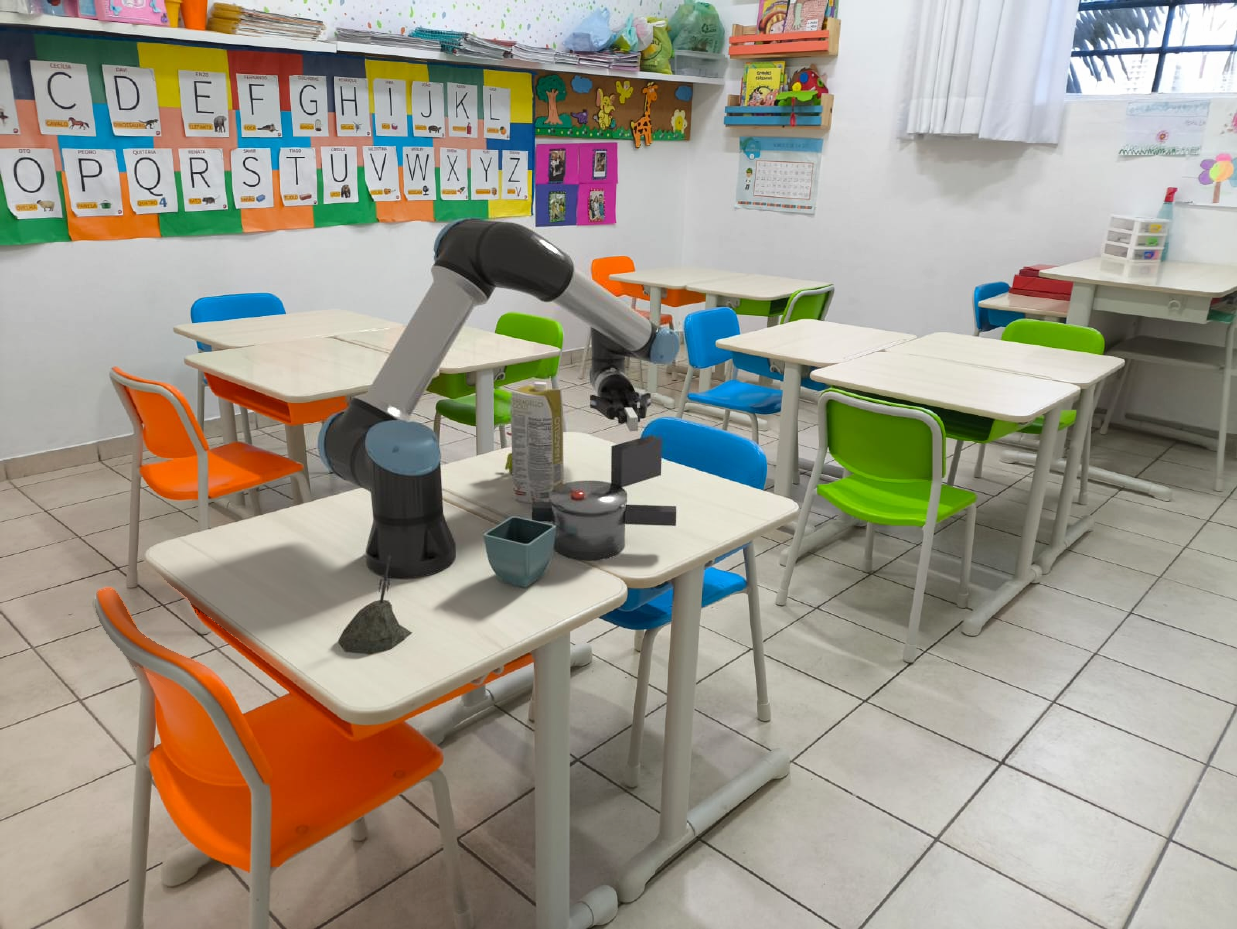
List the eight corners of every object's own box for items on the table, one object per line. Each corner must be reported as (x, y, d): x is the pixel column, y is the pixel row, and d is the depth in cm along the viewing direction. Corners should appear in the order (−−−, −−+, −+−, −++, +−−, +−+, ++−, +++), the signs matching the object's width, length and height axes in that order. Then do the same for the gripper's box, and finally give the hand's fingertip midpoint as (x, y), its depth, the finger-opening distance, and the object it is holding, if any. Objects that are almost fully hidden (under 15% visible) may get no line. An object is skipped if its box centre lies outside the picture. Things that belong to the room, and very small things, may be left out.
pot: (528, 558, 152) (526, 513, 149) (538, 528, 164) (537, 486, 161) (675, 564, 150) (676, 518, 147) (674, 532, 163) (676, 490, 160)
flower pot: (483, 584, 143) (481, 533, 140) (514, 563, 150) (512, 514, 147) (528, 596, 139) (527, 545, 136) (557, 574, 146) (557, 525, 143)
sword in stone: (360, 664, 121) (350, 585, 117) (330, 645, 126) (320, 569, 122) (421, 636, 128) (413, 561, 124) (390, 619, 133) (382, 547, 129)
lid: (583, 521, 145) (583, 475, 142) (534, 497, 155) (533, 454, 152) (681, 488, 160) (683, 445, 157) (631, 468, 169) (631, 428, 166)
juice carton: (568, 496, 179) (567, 382, 170) (547, 509, 172) (545, 391, 164) (530, 488, 183) (527, 376, 175) (508, 500, 176) (504, 385, 168)
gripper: (584, 374, 184) (599, 406, 162) (645, 372, 185) (668, 403, 164) (584, 408, 186) (599, 444, 164) (644, 406, 188) (667, 441, 166)
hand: (633, 424), depth 164 cm, fingers closed
